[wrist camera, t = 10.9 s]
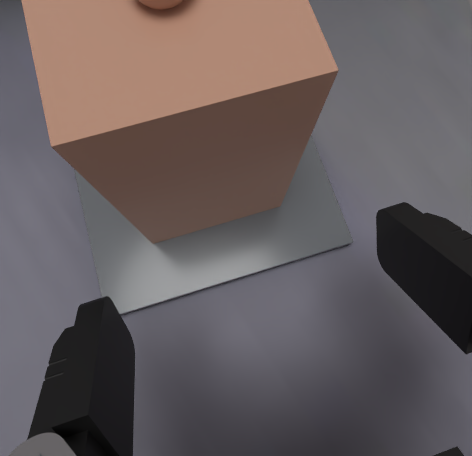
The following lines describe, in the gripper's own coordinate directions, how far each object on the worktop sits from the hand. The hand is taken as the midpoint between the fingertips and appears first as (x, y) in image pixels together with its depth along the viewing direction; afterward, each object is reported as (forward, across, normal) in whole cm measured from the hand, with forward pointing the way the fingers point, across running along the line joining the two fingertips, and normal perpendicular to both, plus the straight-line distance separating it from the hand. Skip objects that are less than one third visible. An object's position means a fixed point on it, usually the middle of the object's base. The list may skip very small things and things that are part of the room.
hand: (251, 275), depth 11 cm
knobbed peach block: (+9, 0, 0) cm, 9 cm away
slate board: (+10, 0, 0) cm, 10 cm away
